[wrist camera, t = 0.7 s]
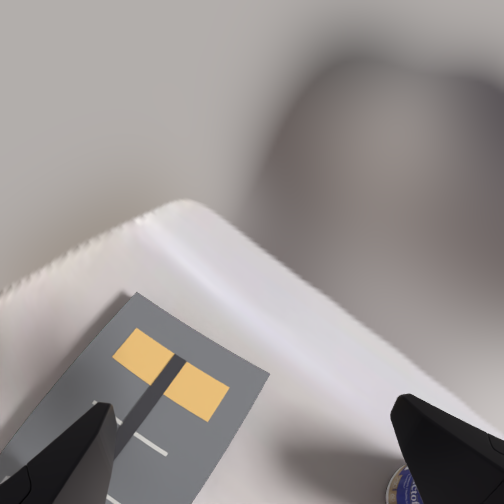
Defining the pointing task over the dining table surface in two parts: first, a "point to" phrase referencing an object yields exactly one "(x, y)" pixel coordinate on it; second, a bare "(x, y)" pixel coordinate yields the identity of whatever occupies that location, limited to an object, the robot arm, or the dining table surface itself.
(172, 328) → the mixing board
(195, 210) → the dining table surface
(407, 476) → the pill bottle
